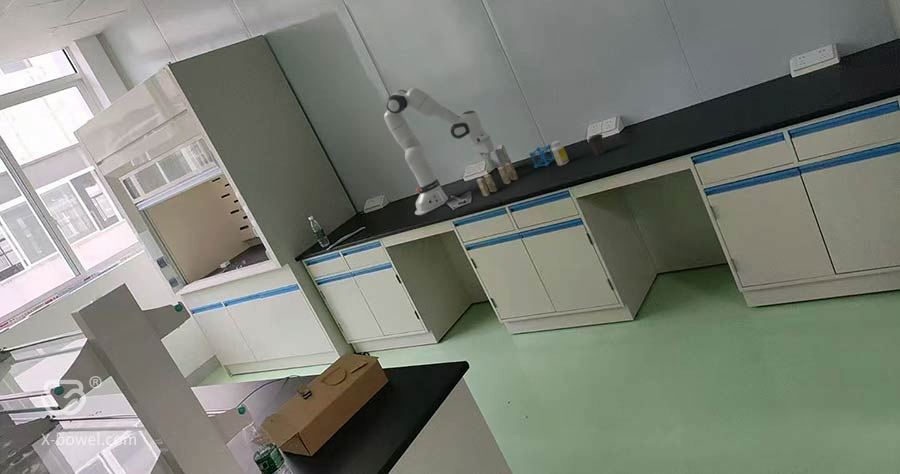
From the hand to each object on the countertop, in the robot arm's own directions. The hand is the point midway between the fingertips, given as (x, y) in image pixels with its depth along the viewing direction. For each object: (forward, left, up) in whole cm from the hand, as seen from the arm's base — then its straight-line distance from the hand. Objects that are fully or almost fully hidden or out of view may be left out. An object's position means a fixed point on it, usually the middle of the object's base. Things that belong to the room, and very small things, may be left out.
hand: (487, 159), depth 376 cm
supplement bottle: (+24, -37, -15) cm, 47 cm away
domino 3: (-1, -14, -15) cm, 21 cm away
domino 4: (+4, -14, -15) cm, 21 cm away
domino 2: (-11, -14, -15) cm, 23 cm away
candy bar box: (+13, +7, -15) cm, 21 cm away
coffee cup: (+36, -56, -15) cm, 69 cm away
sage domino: (0, 0, -7) cm, 7 cm away
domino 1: (-16, -14, -15) cm, 26 cm away
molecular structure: (+23, -20, -15) cm, 35 cm away
